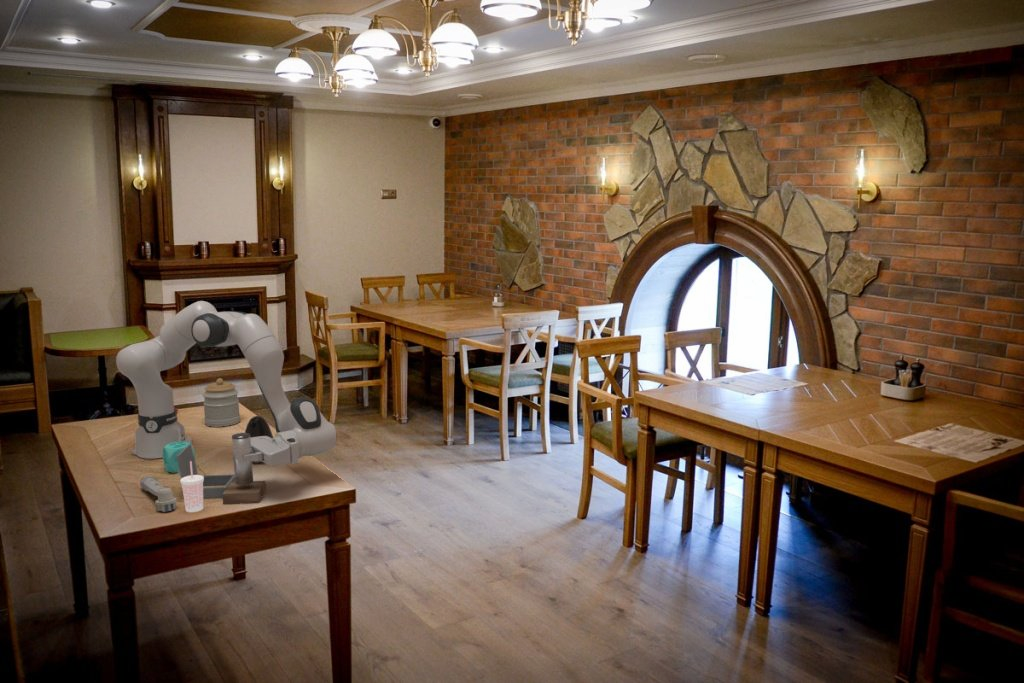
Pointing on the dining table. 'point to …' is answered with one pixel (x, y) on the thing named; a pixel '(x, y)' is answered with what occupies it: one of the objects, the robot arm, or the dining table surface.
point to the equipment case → (209, 480)
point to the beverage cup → (193, 491)
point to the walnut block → (244, 493)
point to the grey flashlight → (159, 494)
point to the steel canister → (241, 467)
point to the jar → (221, 404)
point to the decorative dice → (174, 455)
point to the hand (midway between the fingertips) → (239, 455)
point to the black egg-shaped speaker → (258, 428)
